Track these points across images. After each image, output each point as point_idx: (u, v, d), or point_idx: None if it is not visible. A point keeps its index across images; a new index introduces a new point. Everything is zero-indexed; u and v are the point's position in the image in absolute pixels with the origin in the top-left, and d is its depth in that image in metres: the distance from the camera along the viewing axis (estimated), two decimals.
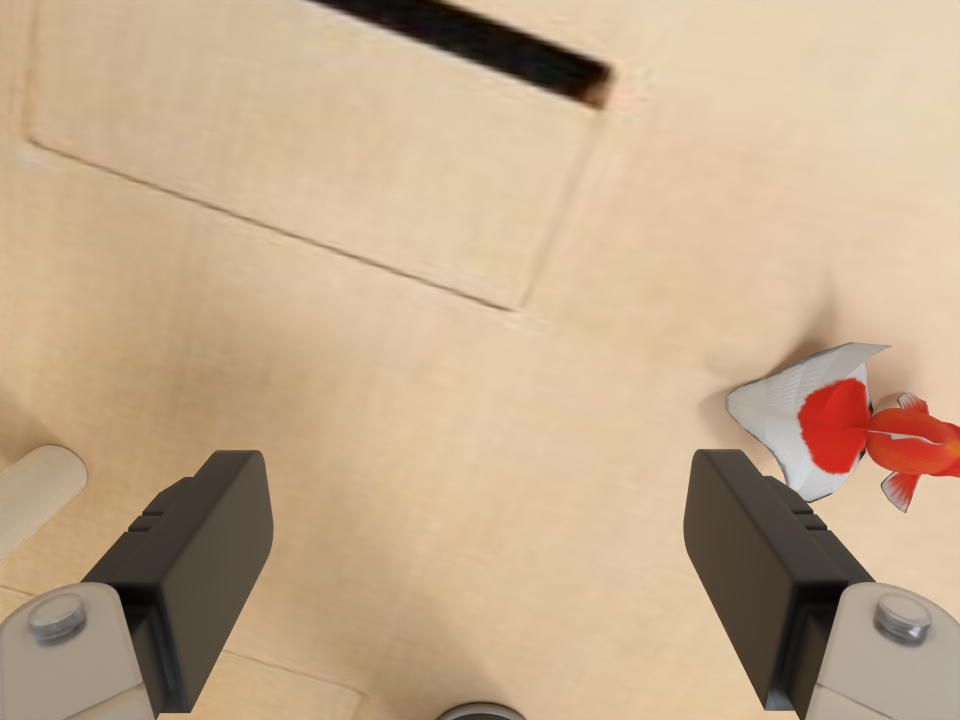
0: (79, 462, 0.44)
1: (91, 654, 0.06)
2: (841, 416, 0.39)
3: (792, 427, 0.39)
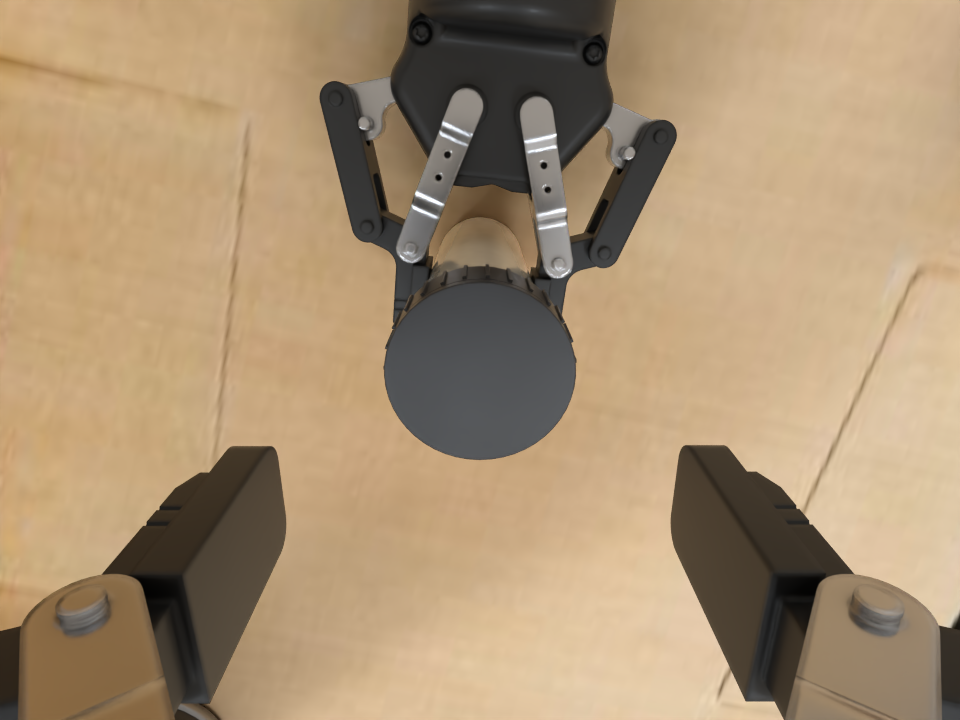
0: None
1: (118, 643, 0.06)
2: None
3: None
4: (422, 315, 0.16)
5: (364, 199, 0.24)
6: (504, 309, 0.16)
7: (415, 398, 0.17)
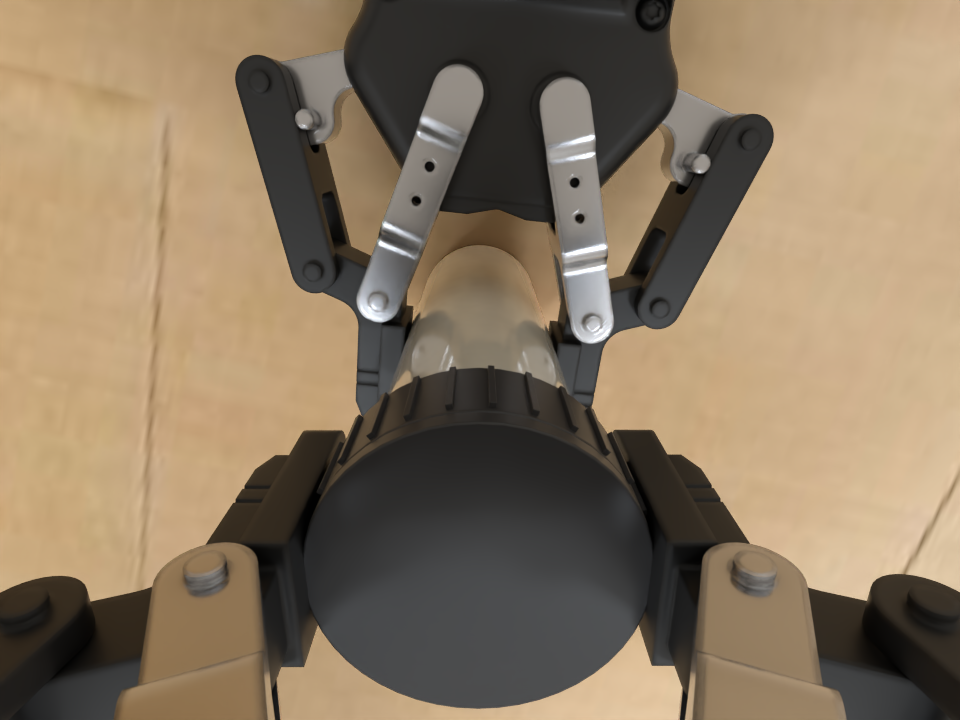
0: None
1: (247, 601, 0.07)
2: None
3: None
4: (369, 480, 0.08)
5: (308, 231, 0.16)
6: (523, 469, 0.08)
7: (361, 615, 0.09)
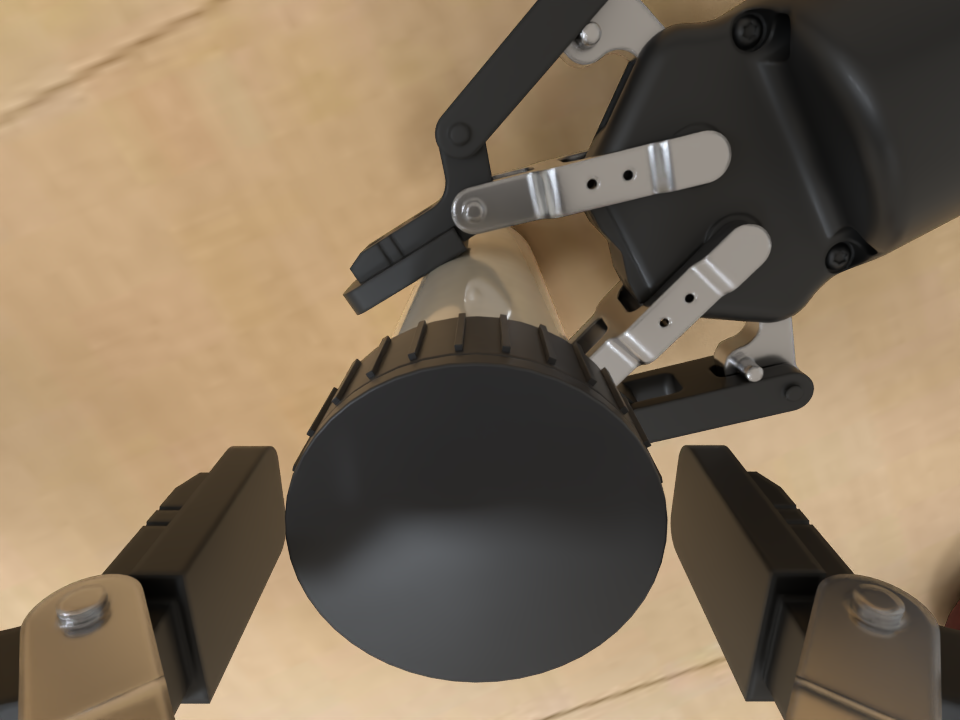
0: None
1: (118, 643, 0.06)
2: None
3: None
4: (318, 476, 0.08)
5: (492, 104, 0.15)
6: (464, 409, 0.08)
7: (379, 615, 0.09)
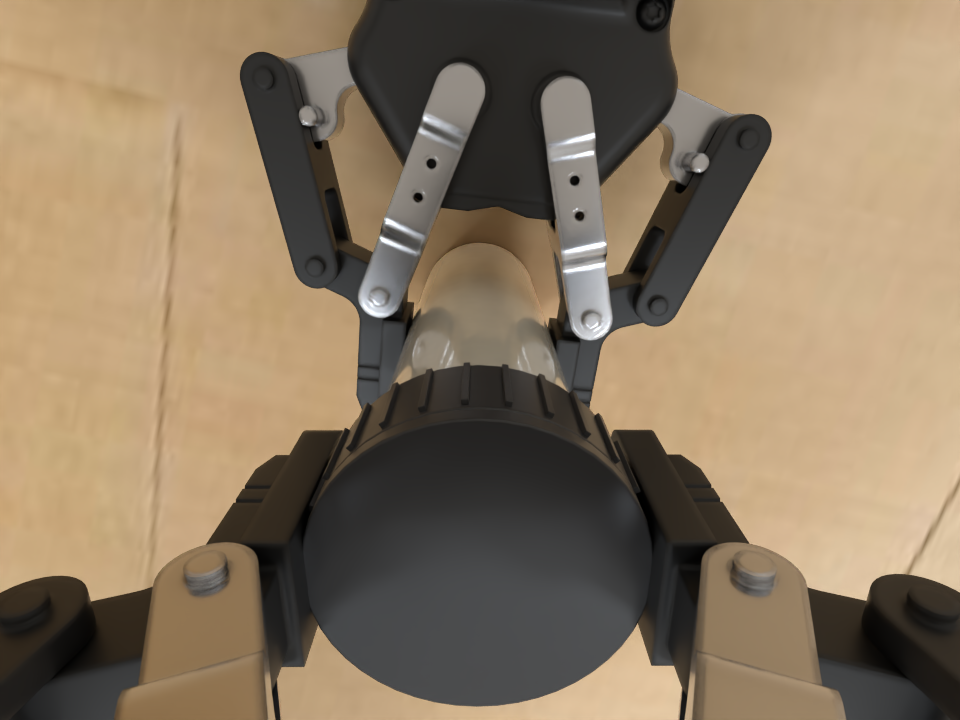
0: None
1: (247, 601, 0.07)
2: None
3: None
4: (343, 631, 0.09)
5: (311, 227, 0.16)
6: (359, 514, 0.09)
7: (488, 674, 0.10)
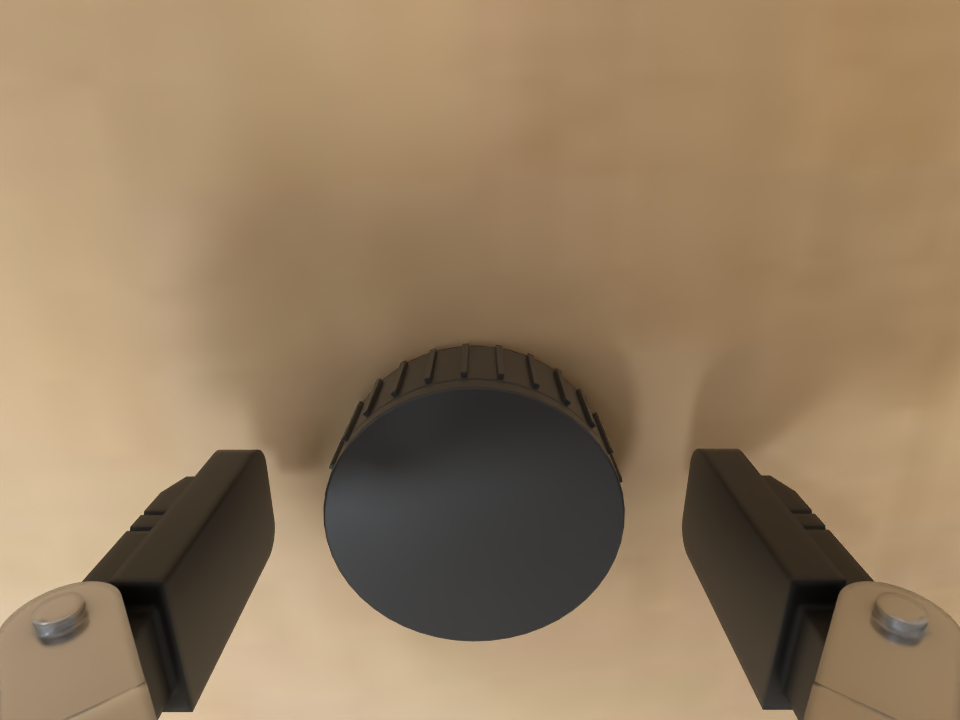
0: None
1: (94, 653, 0.06)
2: None
3: None
4: (359, 573, 0.11)
5: None
6: (374, 470, 0.10)
7: (483, 612, 0.11)
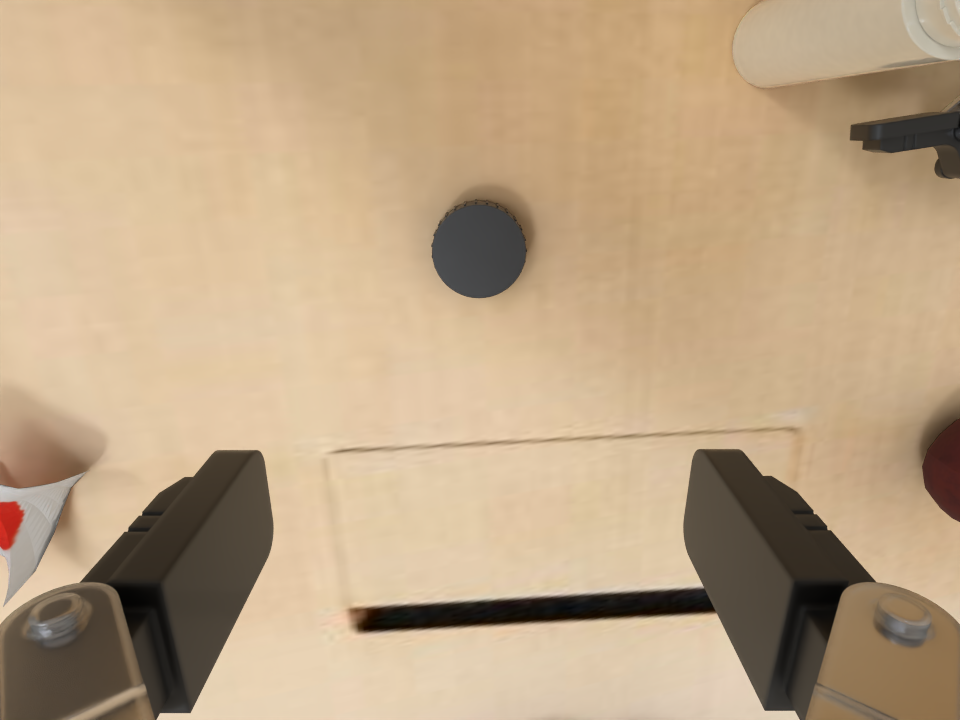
0: (742, 75, 0.33)
1: (91, 654, 0.06)
2: None
3: (9, 498, 0.38)
4: (442, 270, 0.35)
5: None
6: (448, 232, 0.34)
7: (482, 285, 0.35)
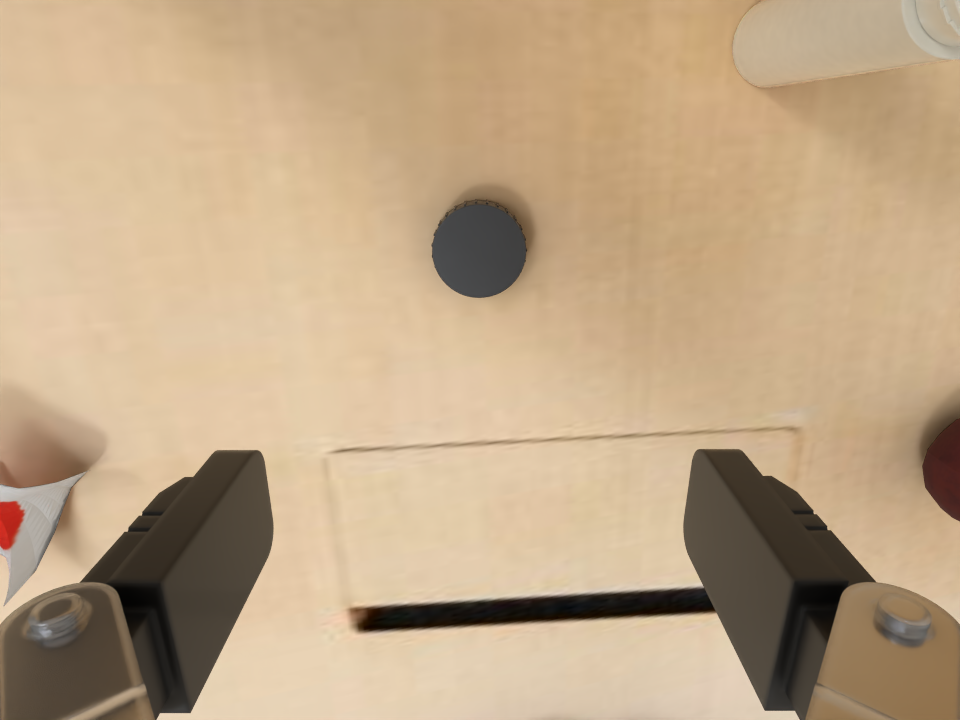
0: (742, 75, 0.33)
1: (91, 654, 0.06)
2: None
3: (9, 497, 0.38)
4: (442, 270, 0.35)
5: None
6: (448, 232, 0.34)
7: (482, 285, 0.35)
